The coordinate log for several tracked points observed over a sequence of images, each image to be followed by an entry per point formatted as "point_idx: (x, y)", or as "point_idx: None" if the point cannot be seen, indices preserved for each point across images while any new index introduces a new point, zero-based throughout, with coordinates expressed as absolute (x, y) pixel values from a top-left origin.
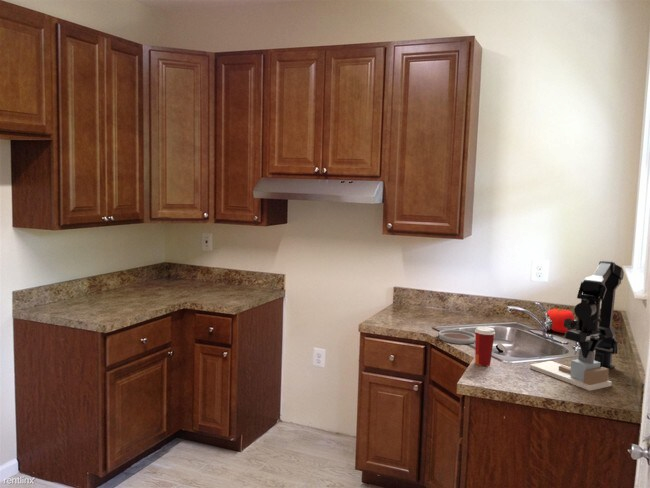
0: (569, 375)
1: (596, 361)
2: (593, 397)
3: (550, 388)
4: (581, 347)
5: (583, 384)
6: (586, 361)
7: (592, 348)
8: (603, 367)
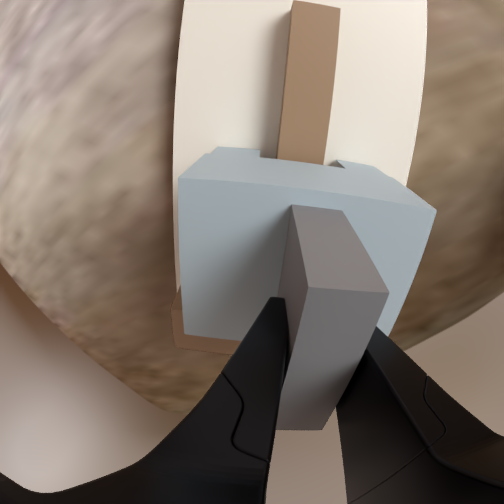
0: (242, 124)
1: (385, 324)
2: (130, 329)
3: (34, 180)
4: (211, 400)
5: (176, 266)
6: None
7: (347, 443)
8: None
